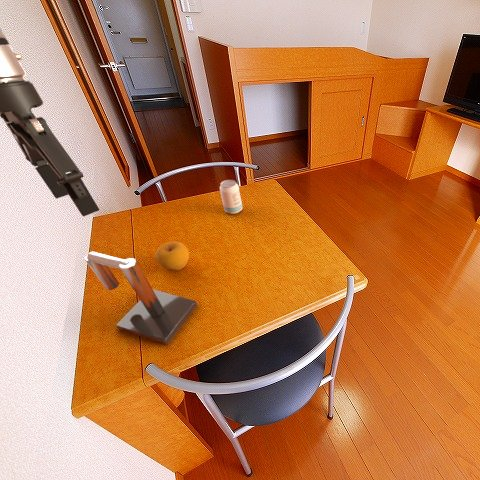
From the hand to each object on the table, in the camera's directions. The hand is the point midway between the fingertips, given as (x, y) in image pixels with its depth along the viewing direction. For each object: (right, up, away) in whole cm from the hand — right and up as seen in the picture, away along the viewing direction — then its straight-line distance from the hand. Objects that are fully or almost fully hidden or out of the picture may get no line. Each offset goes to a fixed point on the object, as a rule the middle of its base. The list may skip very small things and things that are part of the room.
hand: (76, 203), depth 54 cm
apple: (+4, -16, +31) cm, 35 cm away
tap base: (+7, -27, +17) cm, 33 cm away
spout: (+2, -25, +16) cm, 30 cm away
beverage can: (+14, +4, +55) cm, 56 cm away
